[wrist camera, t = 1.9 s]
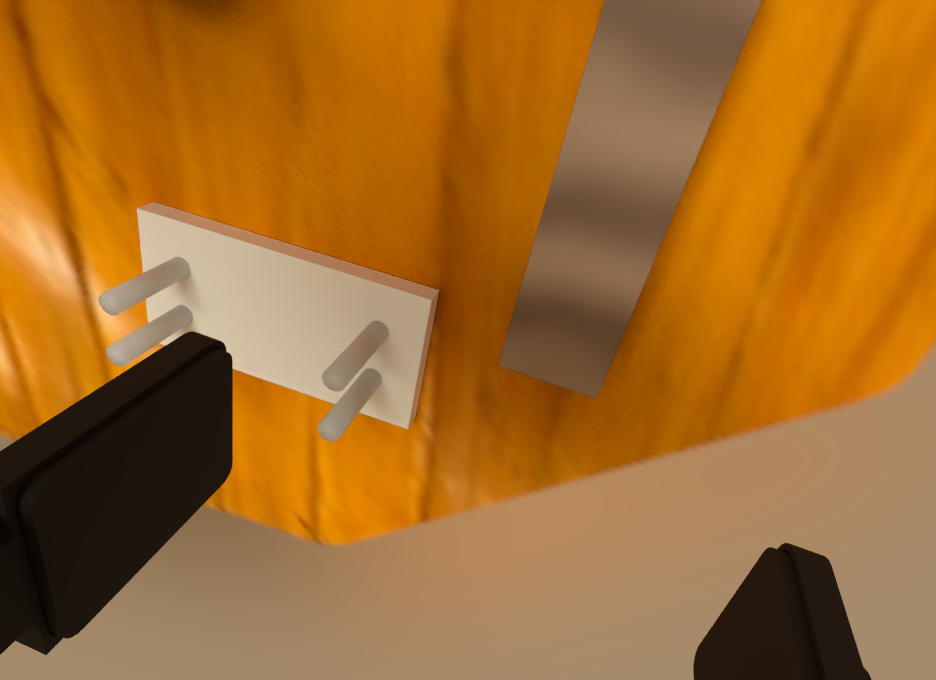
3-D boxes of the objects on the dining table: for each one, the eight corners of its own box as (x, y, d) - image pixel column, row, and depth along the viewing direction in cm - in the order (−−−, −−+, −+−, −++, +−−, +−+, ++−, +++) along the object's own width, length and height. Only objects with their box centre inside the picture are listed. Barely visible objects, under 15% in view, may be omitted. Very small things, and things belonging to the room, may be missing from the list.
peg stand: (164, 330, 44) (81, 383, 38) (153, 201, 39) (55, 237, 33) (415, 416, 41) (371, 489, 35) (439, 290, 36) (393, 347, 30)
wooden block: (632, -63, 26) (627, -79, 22) (758, -33, 25) (779, -43, 21) (516, 324, 36) (497, 365, 32) (603, 353, 35) (596, 399, 31)
